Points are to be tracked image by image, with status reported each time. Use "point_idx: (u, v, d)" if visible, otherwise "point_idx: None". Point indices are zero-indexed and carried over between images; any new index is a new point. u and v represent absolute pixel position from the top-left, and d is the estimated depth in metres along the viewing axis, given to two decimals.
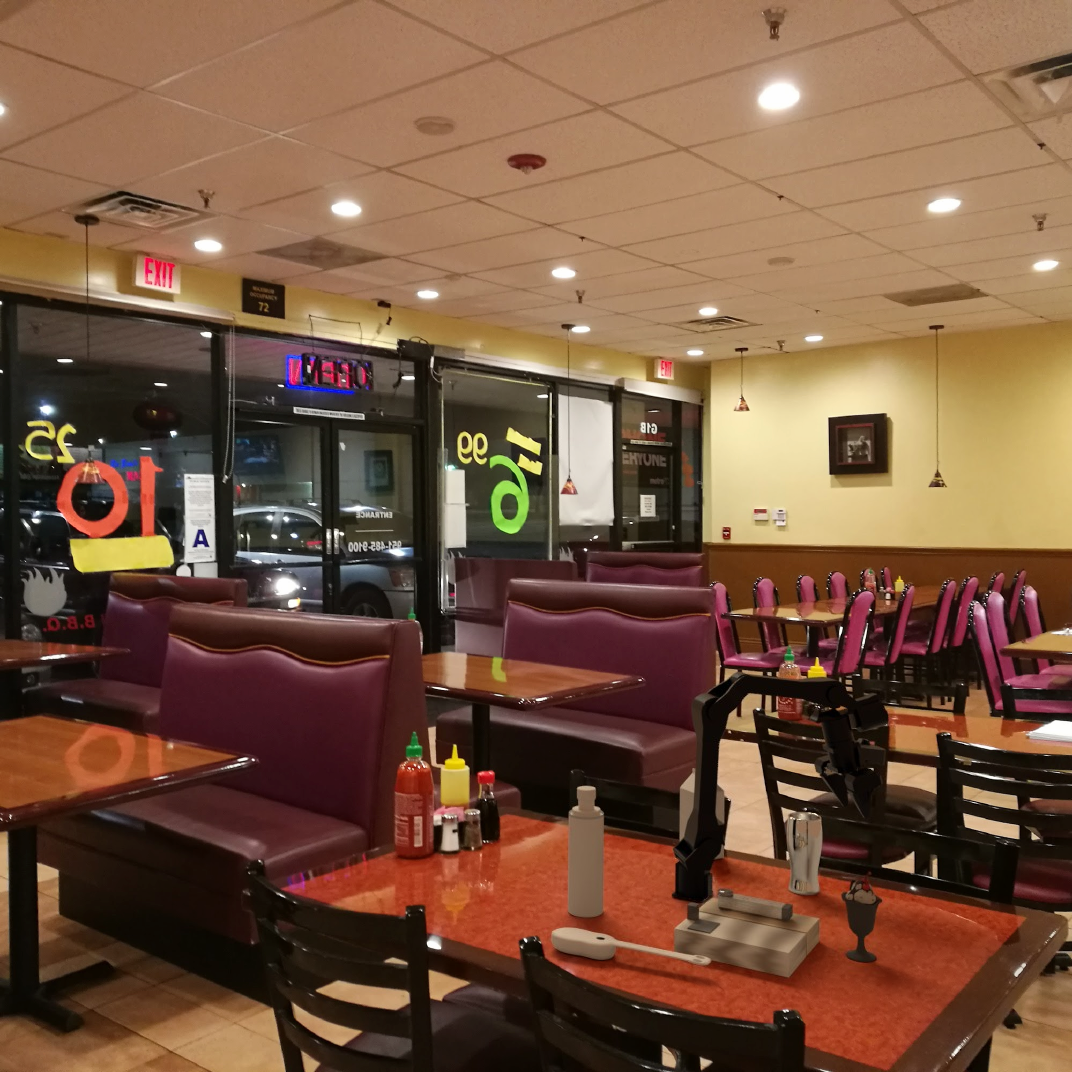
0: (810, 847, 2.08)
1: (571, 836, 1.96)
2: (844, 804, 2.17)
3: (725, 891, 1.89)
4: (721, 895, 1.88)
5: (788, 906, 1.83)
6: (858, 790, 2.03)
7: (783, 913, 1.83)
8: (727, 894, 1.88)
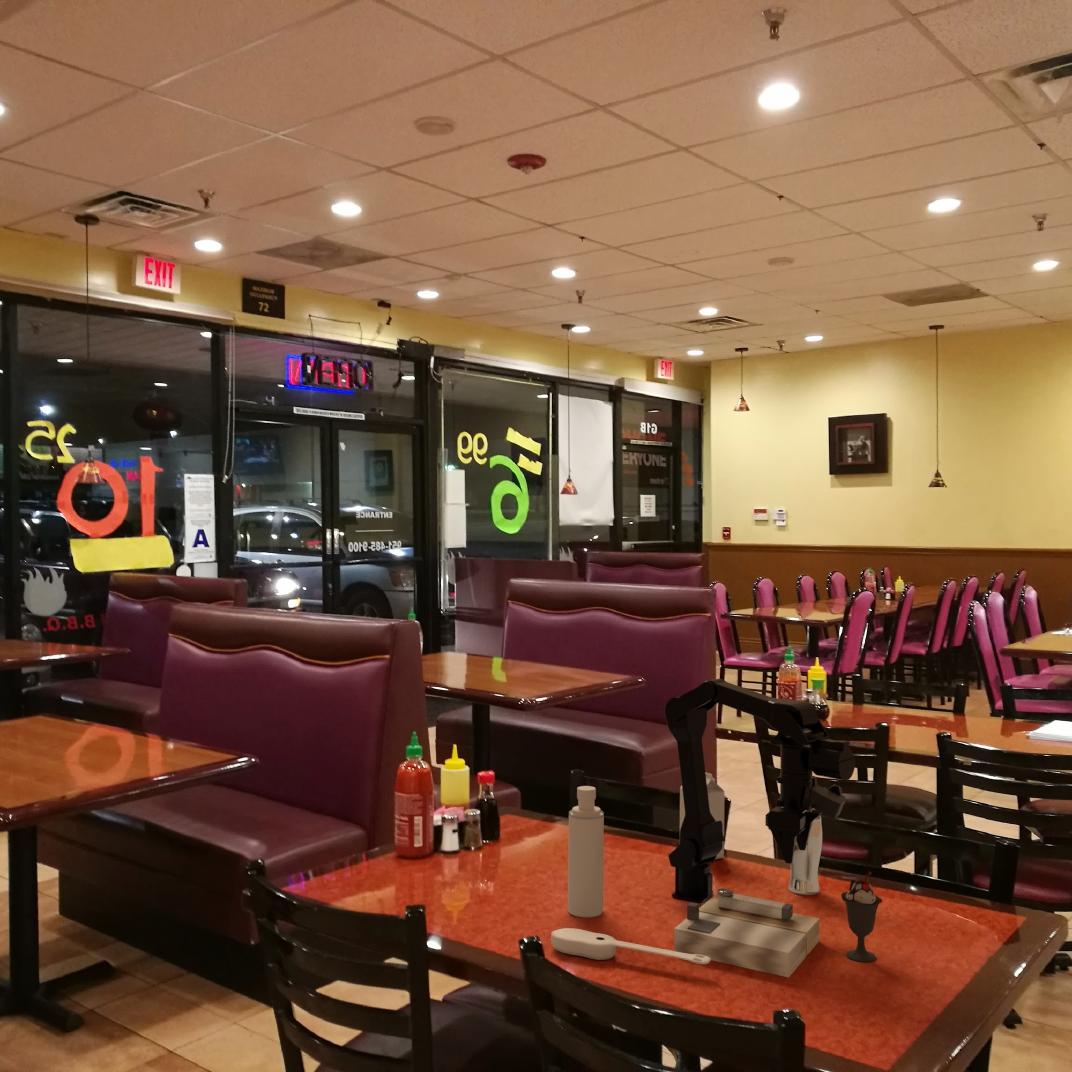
0: (810, 847, 2.08)
1: (571, 836, 1.96)
2: (800, 847, 1.95)
3: (725, 891, 1.89)
4: (721, 895, 1.88)
5: (788, 906, 1.83)
6: (768, 825, 1.84)
7: (783, 913, 1.83)
8: (727, 894, 1.88)
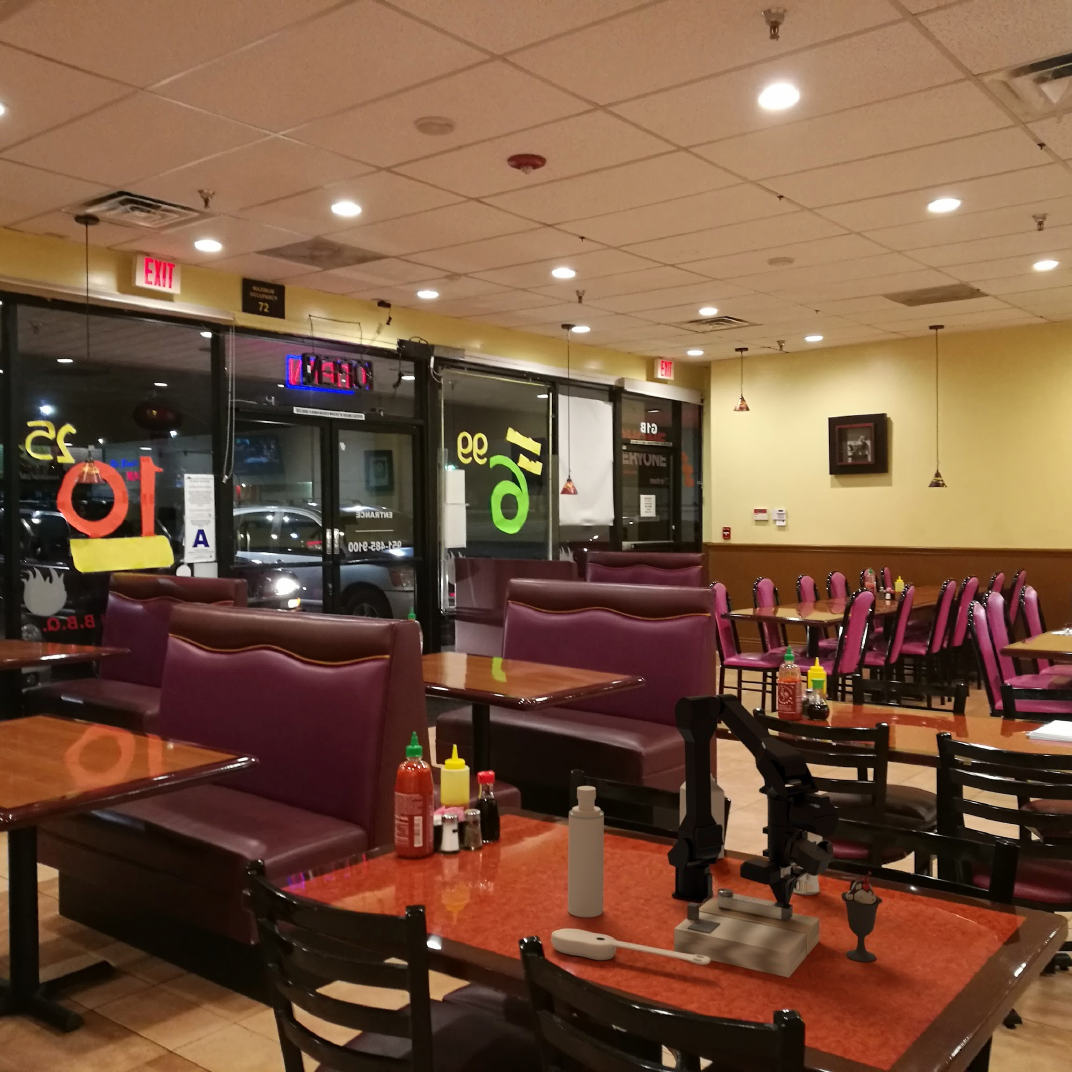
0: None
1: (571, 836, 1.96)
2: None
3: (725, 891, 1.89)
4: (721, 895, 1.88)
5: (788, 906, 1.83)
6: (741, 876, 1.81)
7: (782, 913, 1.82)
8: (727, 894, 1.88)
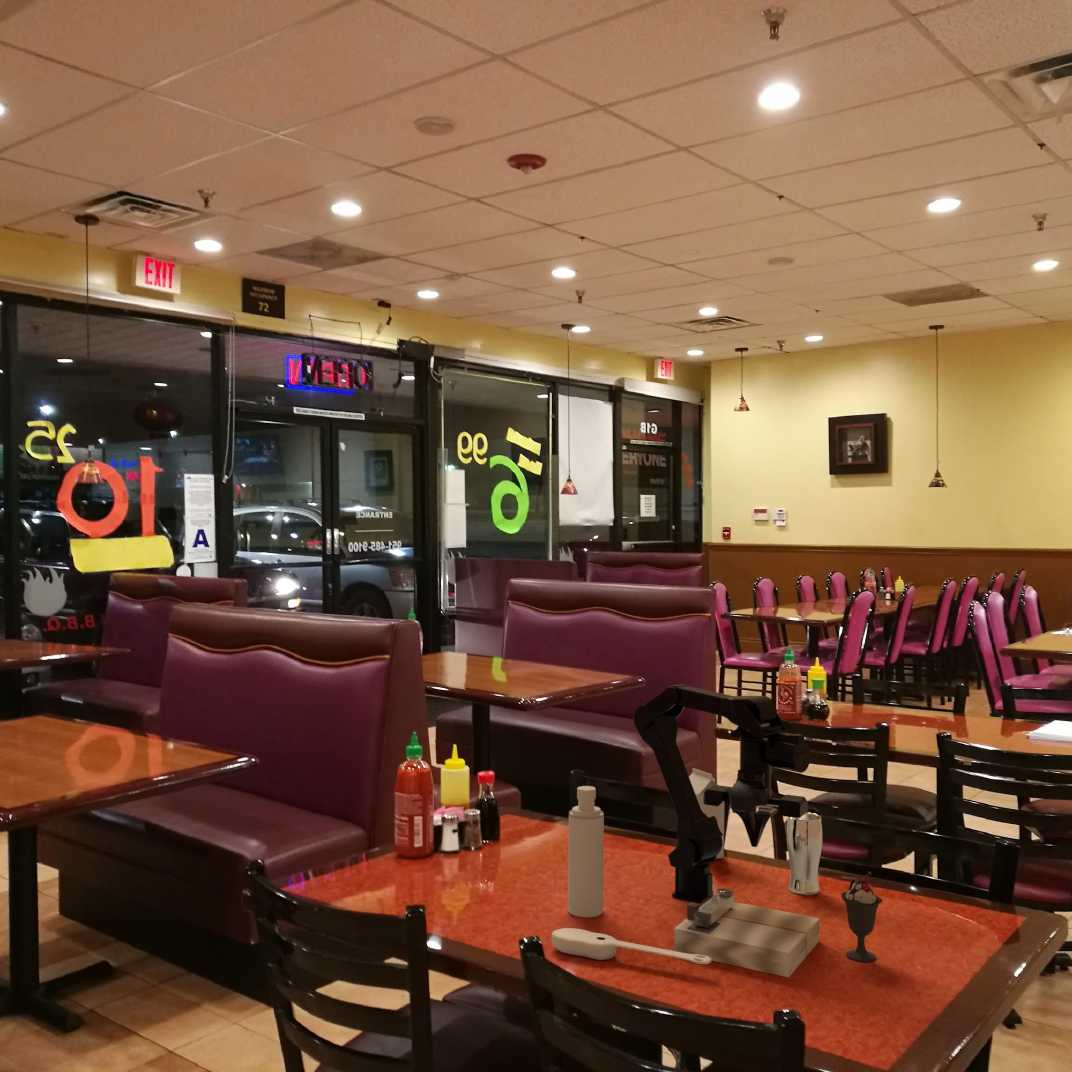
0: (810, 847, 2.08)
1: (571, 836, 1.96)
2: None
3: (724, 891, 1.89)
4: None
5: (701, 914, 1.79)
6: None
7: None
8: (718, 892, 1.89)
